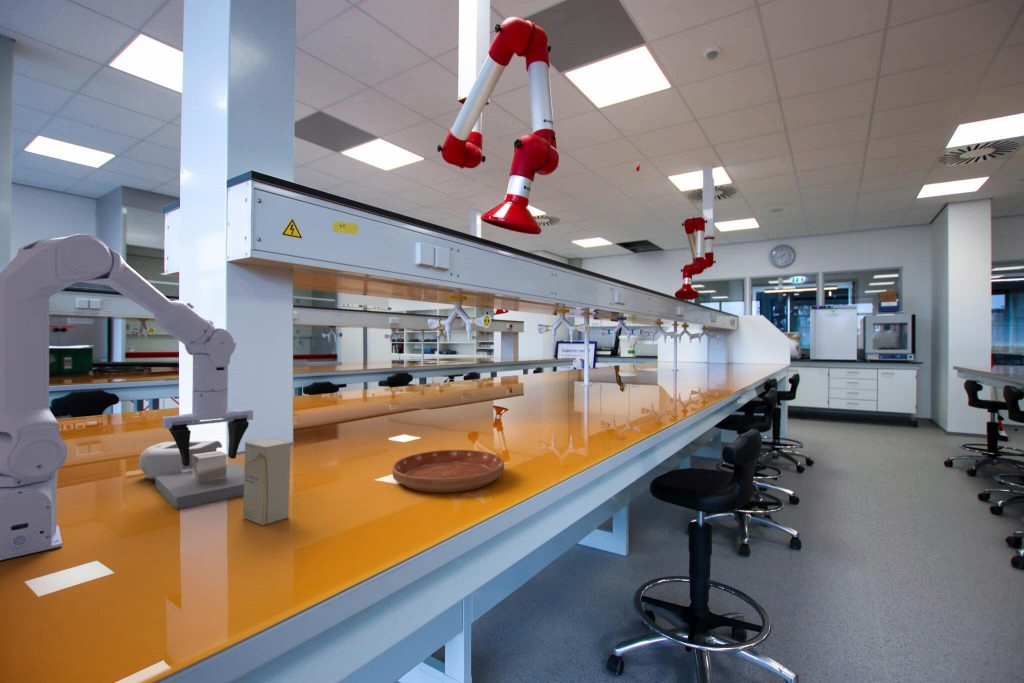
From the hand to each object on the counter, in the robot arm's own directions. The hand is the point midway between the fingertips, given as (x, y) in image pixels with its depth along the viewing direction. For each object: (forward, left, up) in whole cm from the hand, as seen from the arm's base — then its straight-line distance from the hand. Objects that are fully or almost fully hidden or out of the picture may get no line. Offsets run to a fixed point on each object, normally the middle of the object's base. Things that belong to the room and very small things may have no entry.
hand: (209, 461), depth 89 cm
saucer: (-28, -36, -6) cm, 46 cm away
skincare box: (-24, -2, -6) cm, 25 cm away
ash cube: (0, 0, -3) cm, 3 cm away
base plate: (0, 0, -5) cm, 5 cm away
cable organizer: (+16, +2, -6) cm, 17 cm away
